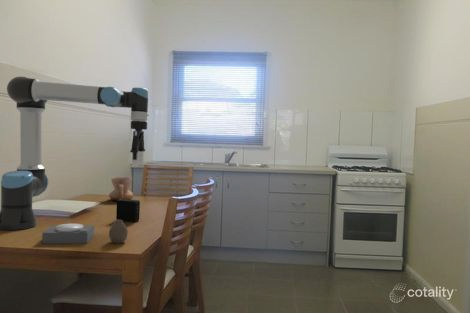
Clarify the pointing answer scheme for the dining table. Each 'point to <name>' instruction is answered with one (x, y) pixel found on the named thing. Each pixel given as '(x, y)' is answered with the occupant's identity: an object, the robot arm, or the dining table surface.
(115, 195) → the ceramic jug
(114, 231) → the vase
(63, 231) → the grey dome button box
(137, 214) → the electronic device
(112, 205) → the dining table surface
